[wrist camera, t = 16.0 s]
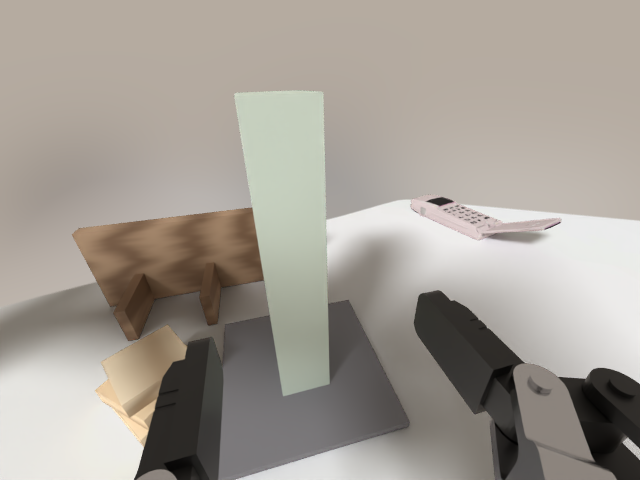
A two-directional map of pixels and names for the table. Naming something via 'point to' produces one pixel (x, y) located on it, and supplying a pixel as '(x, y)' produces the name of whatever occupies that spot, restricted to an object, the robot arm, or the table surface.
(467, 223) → the mobile phone
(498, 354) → the robot arm
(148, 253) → the walnut rack
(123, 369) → the offcut stack
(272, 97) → the sage green pillar
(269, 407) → the charcoal mat
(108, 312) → the table surface
